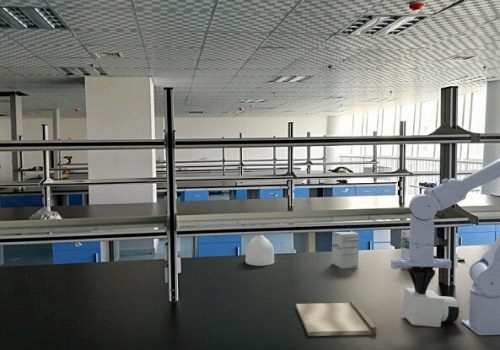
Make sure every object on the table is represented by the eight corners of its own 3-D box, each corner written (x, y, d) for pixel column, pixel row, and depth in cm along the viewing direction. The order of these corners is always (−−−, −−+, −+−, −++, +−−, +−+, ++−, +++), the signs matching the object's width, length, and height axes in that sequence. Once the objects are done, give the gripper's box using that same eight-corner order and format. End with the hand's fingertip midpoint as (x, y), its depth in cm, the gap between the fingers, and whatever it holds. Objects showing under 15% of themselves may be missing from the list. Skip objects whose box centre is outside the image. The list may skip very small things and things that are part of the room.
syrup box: (399, 267, 159) (400, 228, 158) (411, 265, 161) (412, 226, 160) (411, 271, 153) (412, 230, 152) (423, 269, 156) (424, 229, 155)
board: (354, 306, 120) (354, 300, 120) (376, 334, 102) (376, 327, 102) (296, 307, 119) (296, 301, 119) (308, 336, 101) (308, 328, 101)
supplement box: (331, 263, 163) (331, 230, 163) (348, 262, 166) (349, 229, 165) (340, 269, 156) (341, 234, 156) (359, 267, 159) (359, 233, 158)
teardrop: (239, 261, 167) (239, 230, 166) (261, 256, 174) (261, 227, 174) (258, 267, 159) (258, 234, 158) (280, 262, 166) (280, 231, 165)
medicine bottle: (401, 313, 113) (446, 318, 113) (412, 325, 106) (460, 329, 106) (404, 287, 112) (449, 291, 113) (415, 296, 105) (464, 300, 106)
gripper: (442, 239, 113) (440, 290, 113) (387, 239, 112) (385, 291, 113) (456, 245, 106) (454, 300, 106) (397, 245, 105) (396, 301, 106)
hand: (420, 296), depth 109 cm, fingers closed
